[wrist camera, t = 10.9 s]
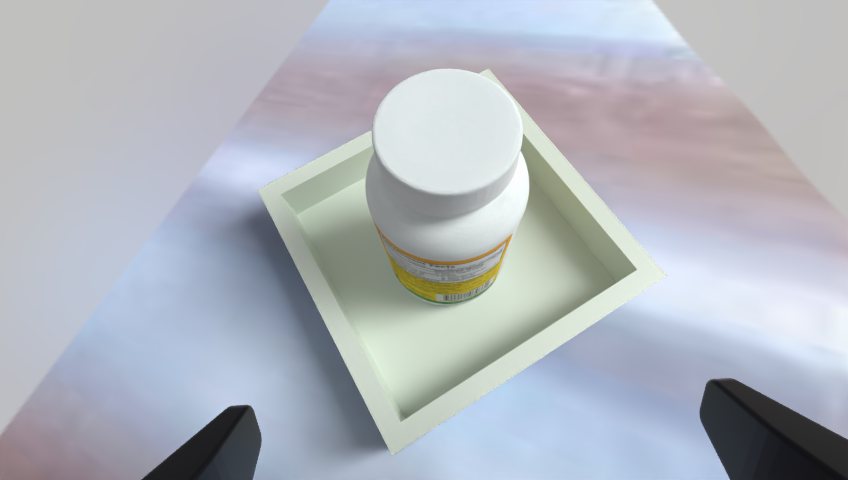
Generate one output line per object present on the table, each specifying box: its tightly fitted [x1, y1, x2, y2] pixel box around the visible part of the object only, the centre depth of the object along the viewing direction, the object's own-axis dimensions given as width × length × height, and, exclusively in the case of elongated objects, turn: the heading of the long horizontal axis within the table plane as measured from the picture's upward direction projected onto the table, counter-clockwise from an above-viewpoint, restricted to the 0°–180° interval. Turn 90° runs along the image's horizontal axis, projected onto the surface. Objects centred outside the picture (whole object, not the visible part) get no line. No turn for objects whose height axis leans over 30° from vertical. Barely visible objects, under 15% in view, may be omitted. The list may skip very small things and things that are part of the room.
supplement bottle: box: [365, 69, 529, 306], centre depth 15 cm, size 5×5×10 cm
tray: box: [258, 69, 667, 456], centre depth 19 cm, size 13×13×3 cm
